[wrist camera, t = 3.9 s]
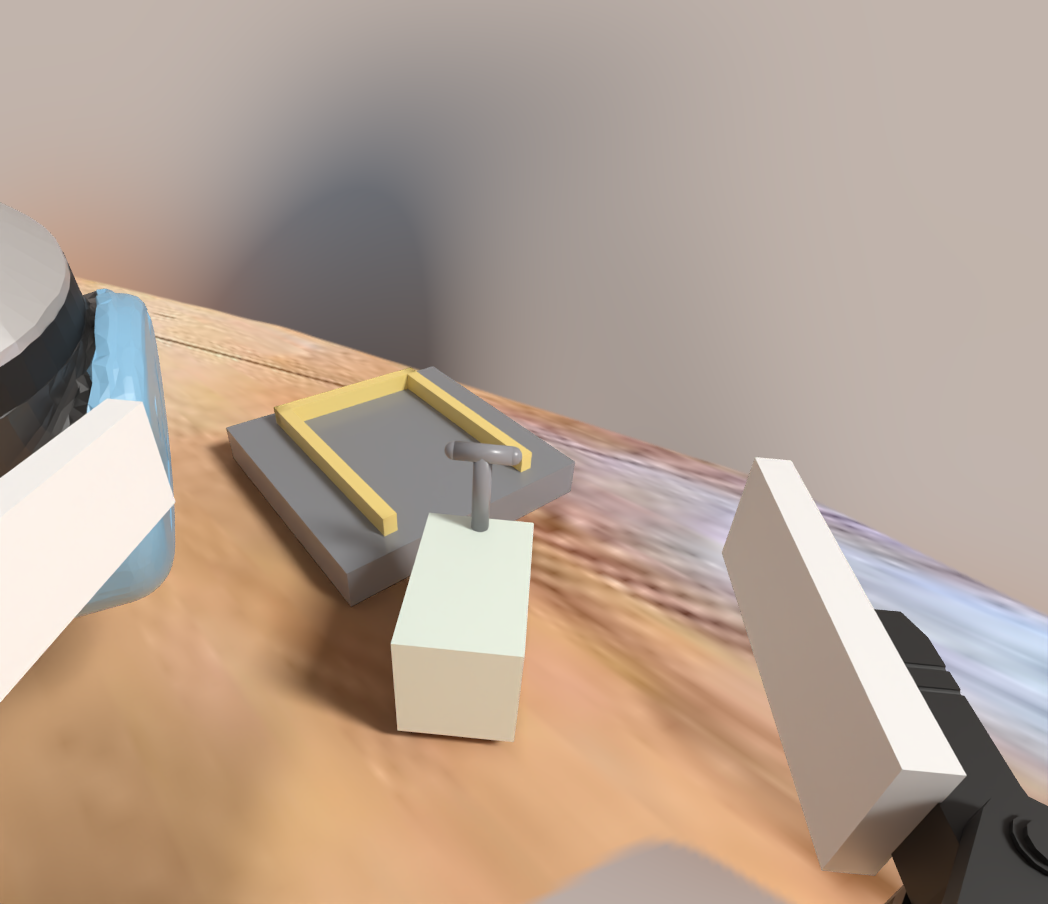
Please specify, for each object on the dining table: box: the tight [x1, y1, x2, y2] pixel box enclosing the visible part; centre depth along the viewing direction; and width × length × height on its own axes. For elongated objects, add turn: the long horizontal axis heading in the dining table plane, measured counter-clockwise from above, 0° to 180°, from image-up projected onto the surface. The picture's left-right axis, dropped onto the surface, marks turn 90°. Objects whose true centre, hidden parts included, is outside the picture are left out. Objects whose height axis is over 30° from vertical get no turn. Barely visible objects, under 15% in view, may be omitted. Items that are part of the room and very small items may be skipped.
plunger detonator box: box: [391, 441, 534, 742], centre depth 31 cm, size 6×9×14 cm, turn 176°
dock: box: [226, 367, 575, 607], centre depth 48 cm, size 20×20×4 cm
